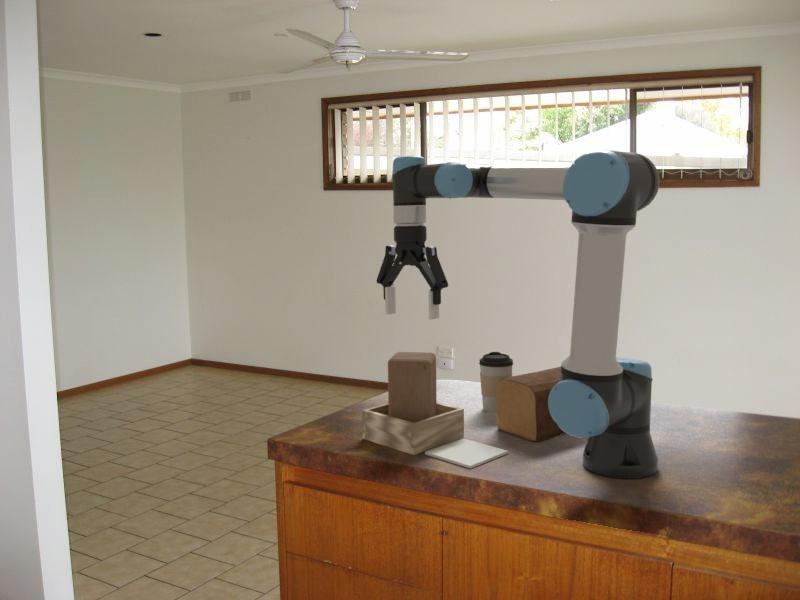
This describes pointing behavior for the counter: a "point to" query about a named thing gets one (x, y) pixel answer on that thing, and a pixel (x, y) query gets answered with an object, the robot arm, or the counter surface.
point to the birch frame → (413, 429)
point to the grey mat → (466, 453)
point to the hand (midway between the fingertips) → (411, 316)
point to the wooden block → (412, 386)
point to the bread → (527, 405)
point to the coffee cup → (493, 377)
